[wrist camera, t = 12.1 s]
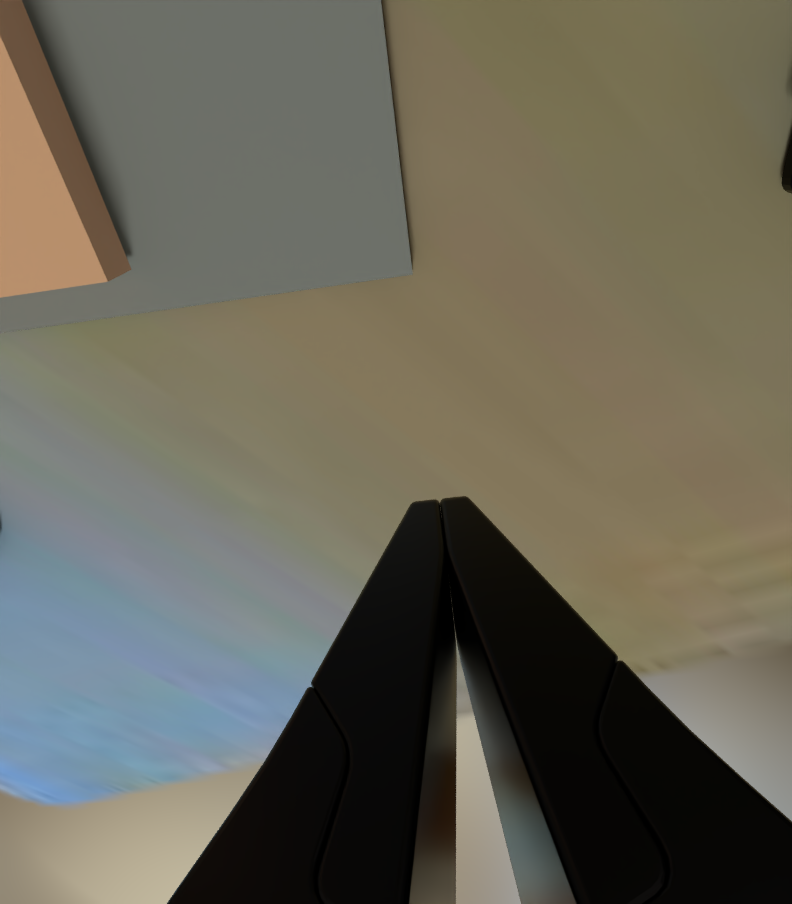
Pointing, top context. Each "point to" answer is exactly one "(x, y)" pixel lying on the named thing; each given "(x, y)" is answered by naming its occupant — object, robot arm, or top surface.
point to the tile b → (45, 178)
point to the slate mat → (226, 149)
